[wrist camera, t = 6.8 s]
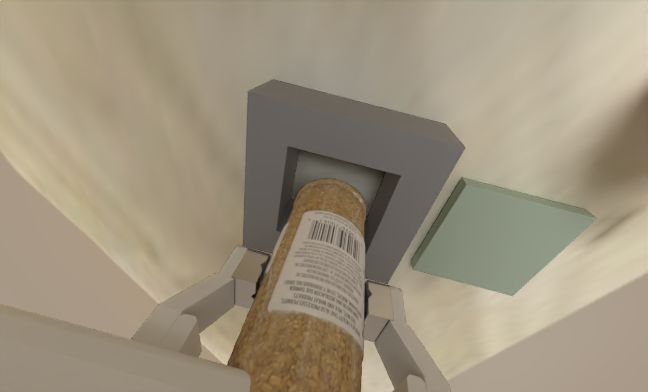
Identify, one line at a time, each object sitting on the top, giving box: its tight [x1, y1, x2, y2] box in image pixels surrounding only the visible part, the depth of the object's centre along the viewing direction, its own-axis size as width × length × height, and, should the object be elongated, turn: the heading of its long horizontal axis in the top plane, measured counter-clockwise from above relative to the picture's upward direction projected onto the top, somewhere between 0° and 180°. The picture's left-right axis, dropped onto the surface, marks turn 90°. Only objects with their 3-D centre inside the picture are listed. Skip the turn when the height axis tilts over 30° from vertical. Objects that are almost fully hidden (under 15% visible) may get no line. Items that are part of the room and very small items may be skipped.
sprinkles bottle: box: [227, 178, 366, 392], centre depth 10 cm, size 5×5×14 cm
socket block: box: [243, 80, 465, 284], centre depth 17 cm, size 11×11×4 cm
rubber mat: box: [411, 178, 597, 296], centre depth 20 cm, size 9×9×1 cm
